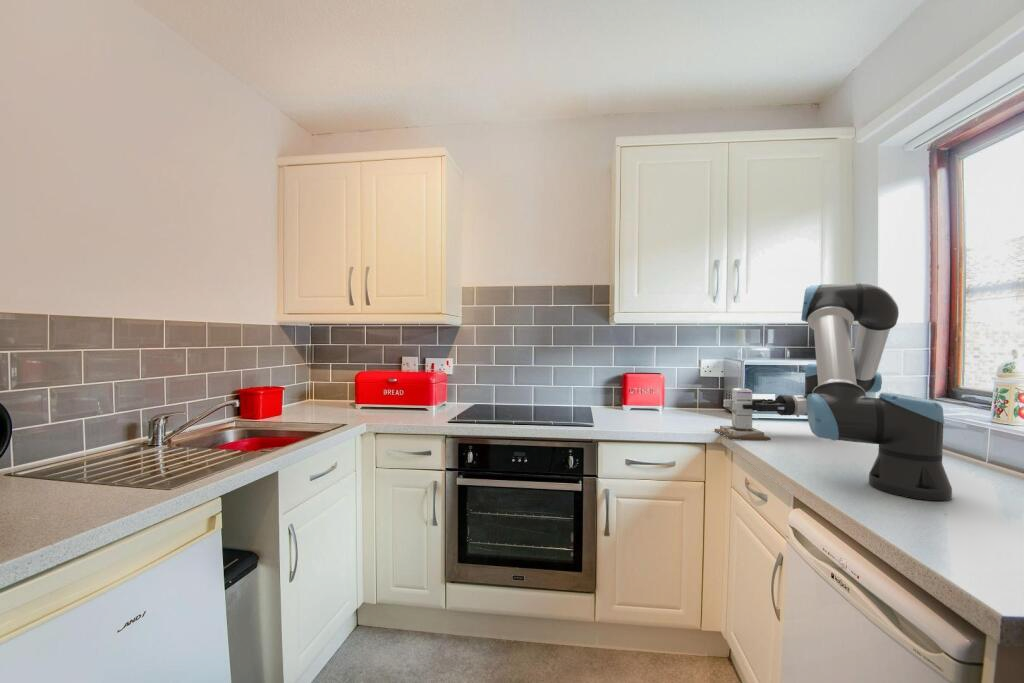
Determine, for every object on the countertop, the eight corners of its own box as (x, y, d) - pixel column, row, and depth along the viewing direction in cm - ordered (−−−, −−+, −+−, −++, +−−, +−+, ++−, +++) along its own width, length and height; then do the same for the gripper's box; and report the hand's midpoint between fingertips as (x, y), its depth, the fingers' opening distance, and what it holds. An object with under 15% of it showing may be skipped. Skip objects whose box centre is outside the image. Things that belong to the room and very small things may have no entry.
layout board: (770, 440, 156) (770, 433, 156) (731, 439, 157) (731, 433, 157) (750, 431, 170) (750, 425, 170) (714, 431, 171) (714, 424, 171)
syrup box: (752, 429, 160) (753, 390, 160) (735, 428, 161) (736, 389, 161) (747, 425, 166) (748, 388, 166) (730, 425, 167) (731, 387, 167)
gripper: (806, 420, 153) (741, 419, 154) (775, 410, 173) (716, 409, 173) (807, 399, 153) (741, 398, 154) (775, 391, 173) (717, 391, 173)
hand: (728, 404), depth 164 cm, fingers closed on syrup box, 6 cm apart
